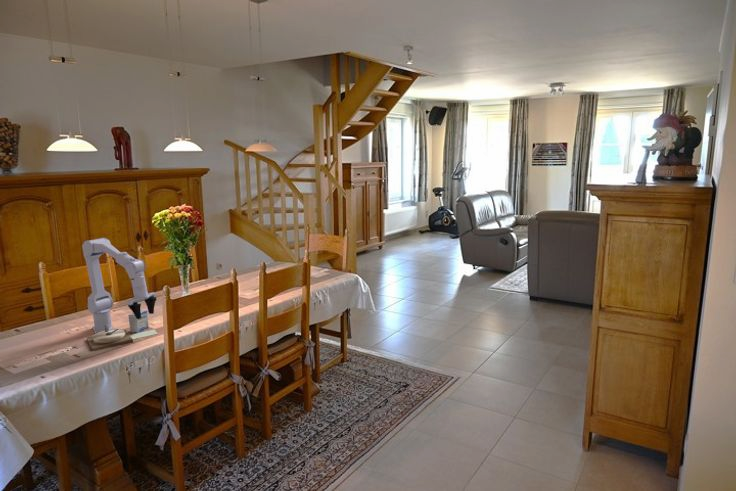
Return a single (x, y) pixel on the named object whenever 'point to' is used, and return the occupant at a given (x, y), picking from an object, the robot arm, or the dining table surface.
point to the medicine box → (138, 322)
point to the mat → (143, 334)
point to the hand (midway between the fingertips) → (145, 316)
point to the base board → (105, 345)
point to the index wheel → (108, 335)
